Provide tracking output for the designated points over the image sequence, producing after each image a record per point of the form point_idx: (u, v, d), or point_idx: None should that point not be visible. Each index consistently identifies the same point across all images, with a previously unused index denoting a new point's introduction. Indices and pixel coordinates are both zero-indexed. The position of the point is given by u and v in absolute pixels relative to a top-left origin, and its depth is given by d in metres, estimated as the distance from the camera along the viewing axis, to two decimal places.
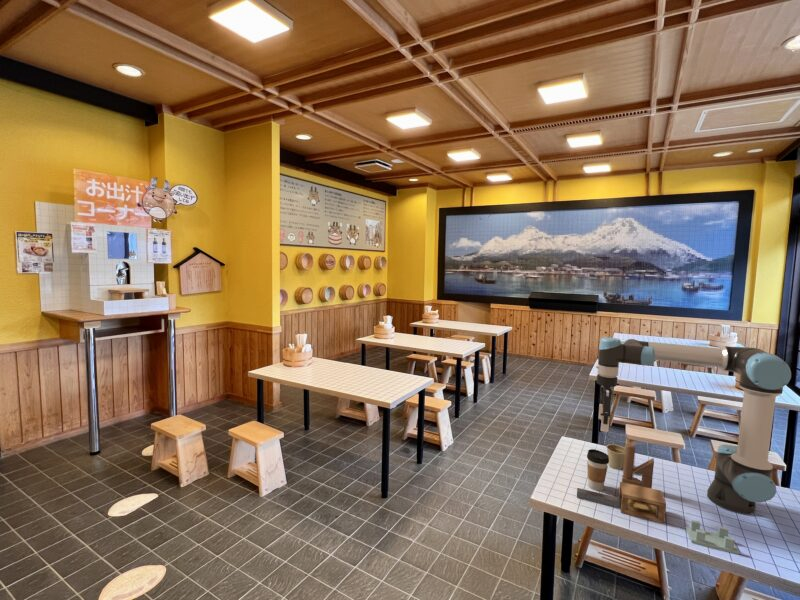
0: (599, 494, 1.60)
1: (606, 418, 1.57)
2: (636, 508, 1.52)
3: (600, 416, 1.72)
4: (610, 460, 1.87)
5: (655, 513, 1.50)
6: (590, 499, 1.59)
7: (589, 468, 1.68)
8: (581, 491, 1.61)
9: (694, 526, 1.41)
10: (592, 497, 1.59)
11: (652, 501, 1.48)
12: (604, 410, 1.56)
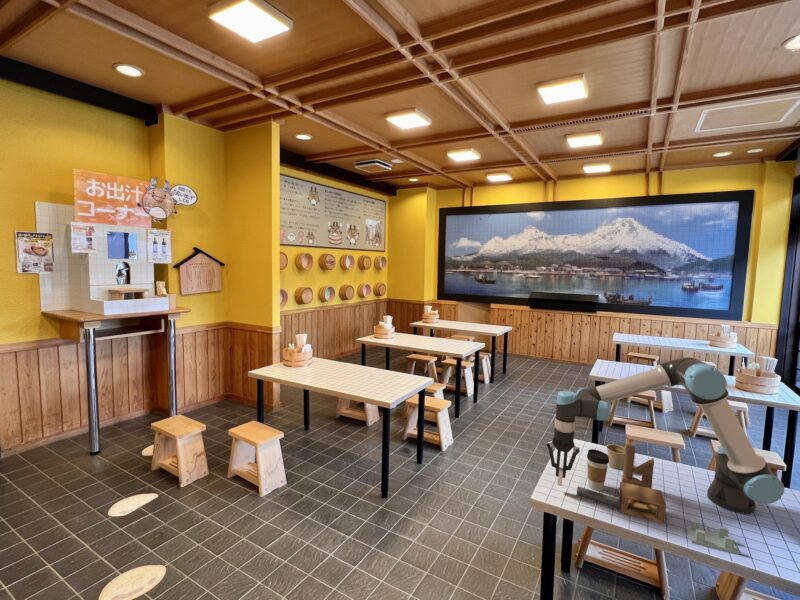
0: (599, 493, 1.60)
1: (556, 469, 1.65)
2: (636, 507, 1.52)
3: None
4: (610, 460, 1.87)
5: (655, 512, 1.50)
6: (589, 498, 1.60)
7: (589, 468, 1.68)
8: (582, 489, 1.63)
9: (694, 526, 1.41)
10: (591, 496, 1.60)
11: (652, 501, 1.48)
12: None
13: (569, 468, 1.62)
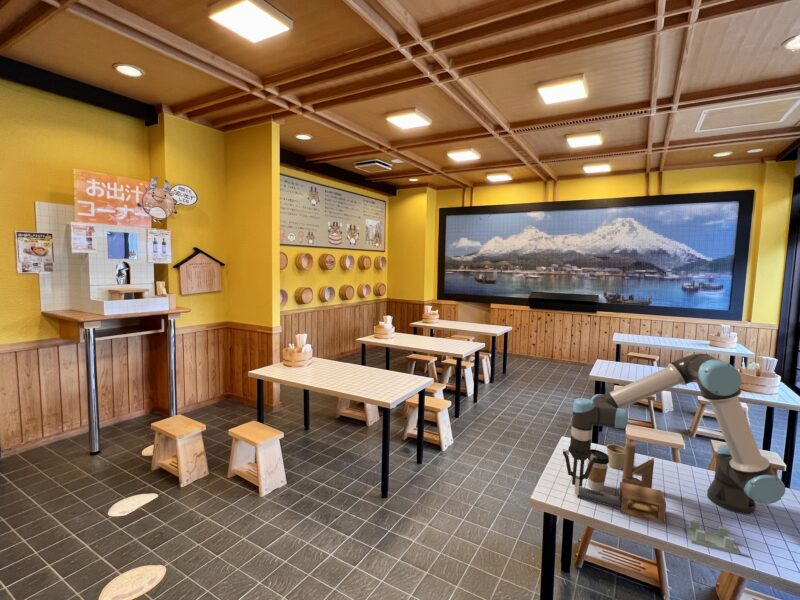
0: (601, 493, 1.60)
1: (572, 478, 1.63)
2: (636, 509, 1.52)
3: None
4: (610, 460, 1.87)
5: None
6: (591, 498, 1.60)
7: None
8: (583, 489, 1.62)
9: (694, 526, 1.41)
10: (593, 495, 1.59)
11: (652, 501, 1.48)
12: None
13: (586, 477, 1.59)
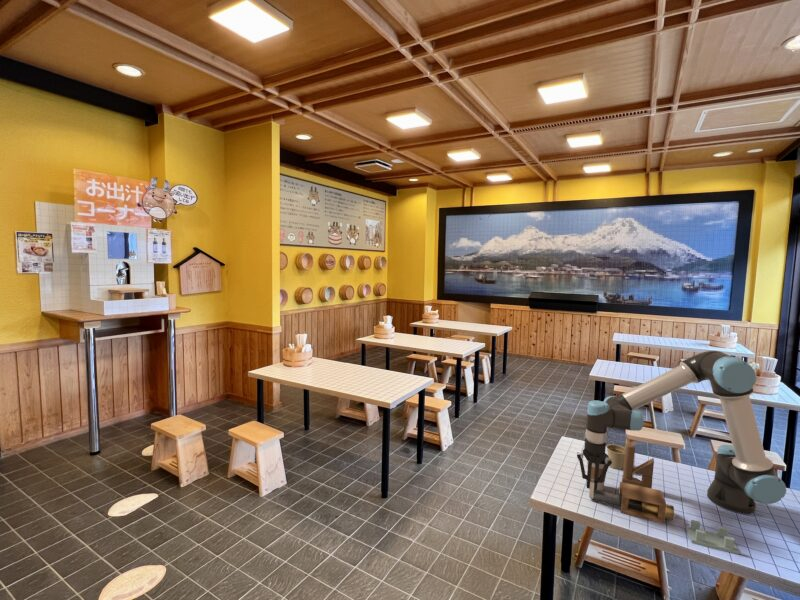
0: (616, 495, 1.58)
1: (587, 481, 1.61)
2: (652, 512, 1.50)
3: None
4: None
5: (672, 518, 1.48)
6: (606, 501, 1.58)
7: None
8: (598, 492, 1.60)
9: (694, 526, 1.41)
10: (608, 498, 1.57)
11: (652, 501, 1.48)
12: None
13: (601, 480, 1.57)
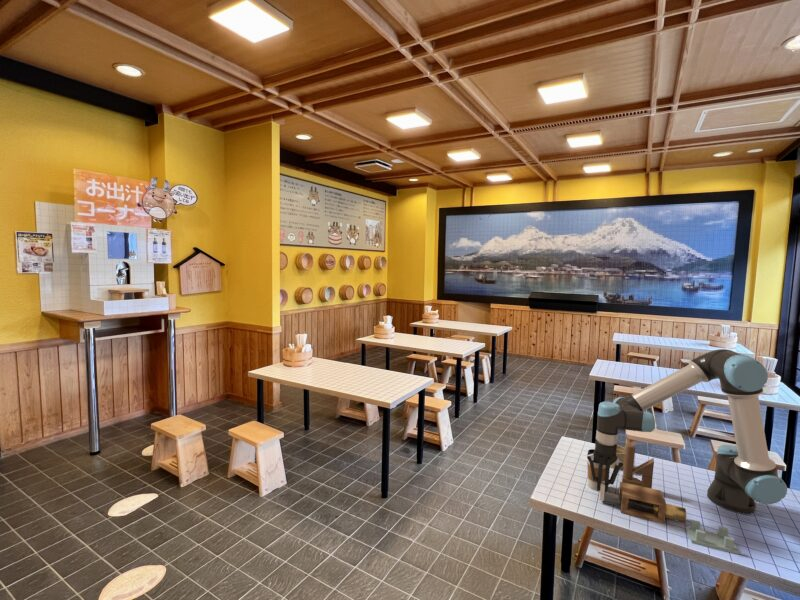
0: None
1: (597, 483, 1.59)
2: None
3: None
4: None
5: (684, 521, 1.46)
6: (617, 503, 1.56)
7: (589, 468, 1.68)
8: (608, 494, 1.59)
9: (694, 526, 1.41)
10: (619, 500, 1.56)
11: (652, 501, 1.48)
12: None
13: (612, 482, 1.56)
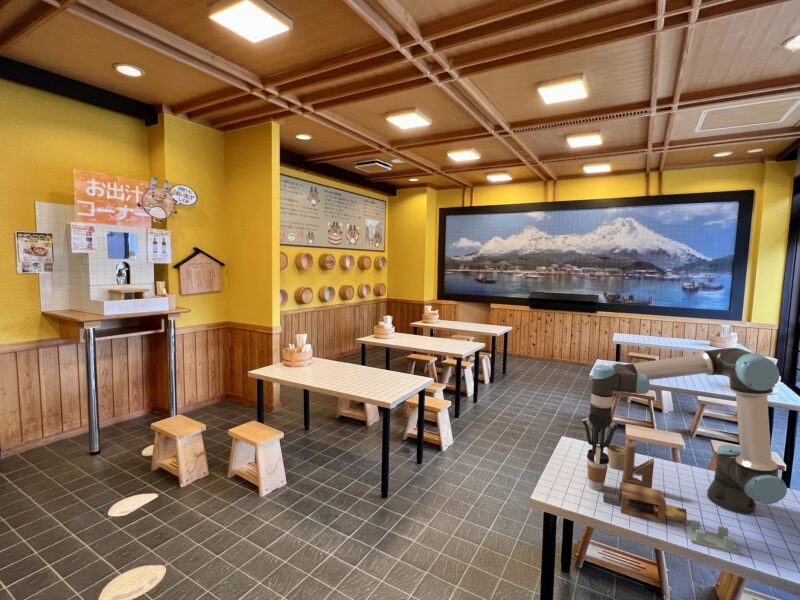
0: None
1: (592, 447, 1.59)
2: None
3: None
4: (610, 460, 1.87)
5: (684, 522, 1.46)
6: (617, 504, 1.57)
7: (589, 468, 1.68)
8: (608, 495, 1.59)
9: (694, 526, 1.41)
10: (619, 501, 1.56)
11: (652, 501, 1.48)
12: None
13: (607, 445, 1.56)
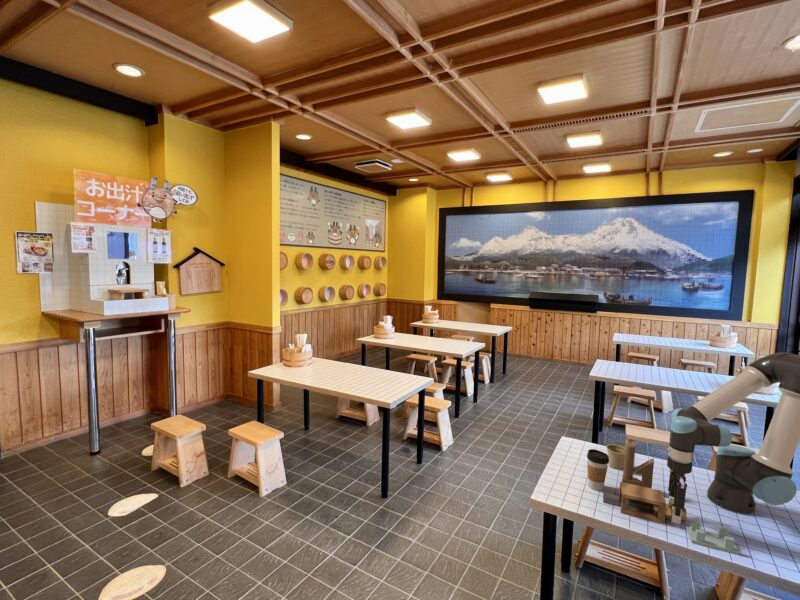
0: None
1: (678, 510, 1.45)
2: None
3: None
4: (610, 460, 1.87)
5: (684, 520, 1.46)
6: (617, 504, 1.56)
7: (589, 468, 1.68)
8: (608, 495, 1.59)
9: (694, 526, 1.41)
10: (619, 501, 1.56)
11: (652, 501, 1.48)
12: (677, 503, 1.43)
13: None
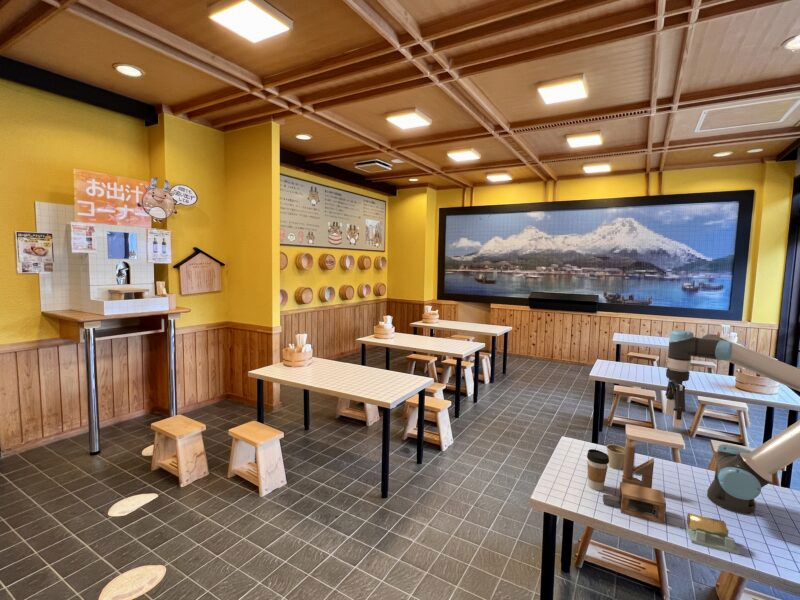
0: None
1: (680, 413, 1.52)
2: (701, 529, 1.37)
3: (667, 412, 1.66)
4: (610, 460, 1.87)
5: (724, 535, 1.34)
6: (618, 505, 1.56)
7: (589, 468, 1.68)
8: (608, 497, 1.58)
9: None
10: (620, 503, 1.55)
11: (652, 501, 1.48)
12: (678, 405, 1.51)
13: None
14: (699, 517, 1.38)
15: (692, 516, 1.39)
